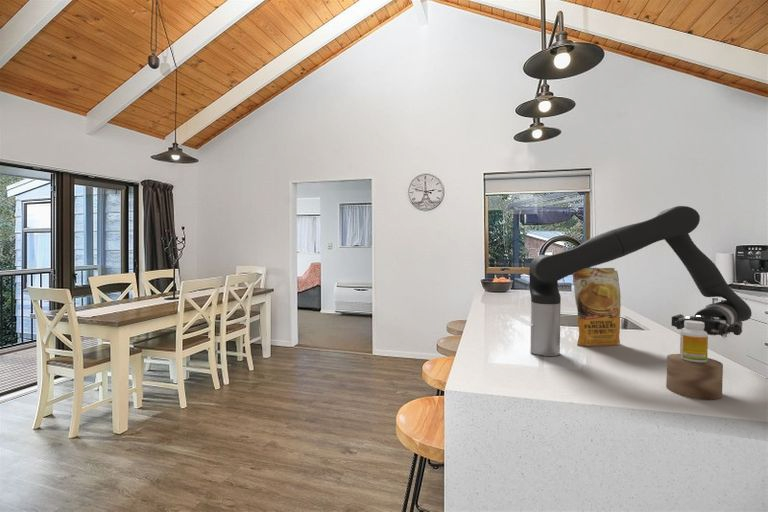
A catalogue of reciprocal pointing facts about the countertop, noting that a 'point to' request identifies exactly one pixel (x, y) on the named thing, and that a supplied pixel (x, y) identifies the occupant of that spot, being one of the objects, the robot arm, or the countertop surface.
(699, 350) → the supplement bottle
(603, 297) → the pancake mix bag
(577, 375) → the countertop surface
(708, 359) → the walnut block
